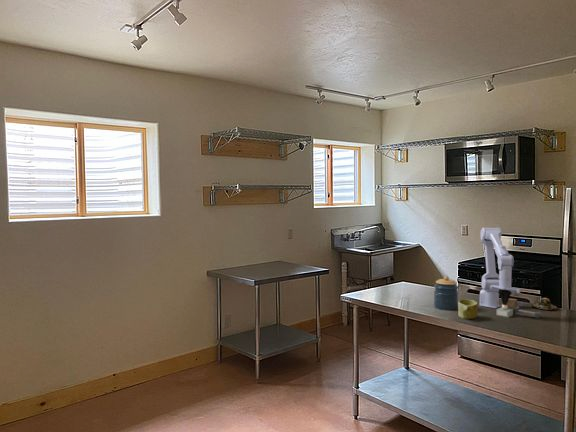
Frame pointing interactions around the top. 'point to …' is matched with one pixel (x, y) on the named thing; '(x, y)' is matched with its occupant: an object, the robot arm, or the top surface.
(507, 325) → the top surface
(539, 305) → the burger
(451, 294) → the canister
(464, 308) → the mug
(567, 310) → the top surface
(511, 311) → the grey square block
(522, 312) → the rail
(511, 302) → the carriage
